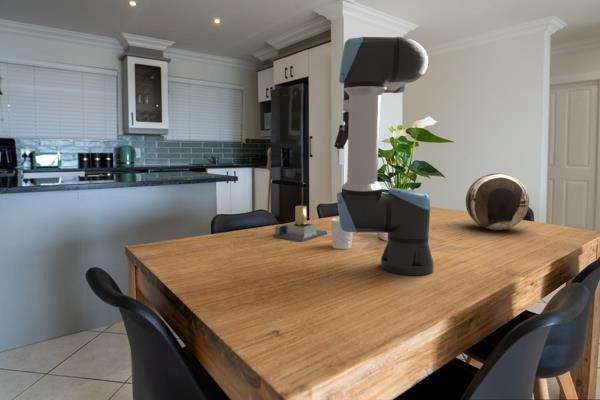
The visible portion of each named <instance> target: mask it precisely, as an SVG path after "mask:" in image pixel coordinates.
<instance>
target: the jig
mask: <svg viewBox="0 0 600 400" xmlns="http://www.w3.org/2000/svg"><path fill="white" fill-rule="evenodd" d="M274 228H275V229H274V232H275V233H273V238H277V239H284V240H289V241H293V242H299V243H300V242H302V243H304V242H306V241H309V240H314V239H316V238H319V237H323V236H326V235H327V234H328V231H327V230H321V229H317V224H316V223H315V224H314V223H308V222H307V226H305V227H300V226H295V221H293V222H289V223H285V224H284V223H282V224H280V225H276V226H275V227H274Z"/></svg>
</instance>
